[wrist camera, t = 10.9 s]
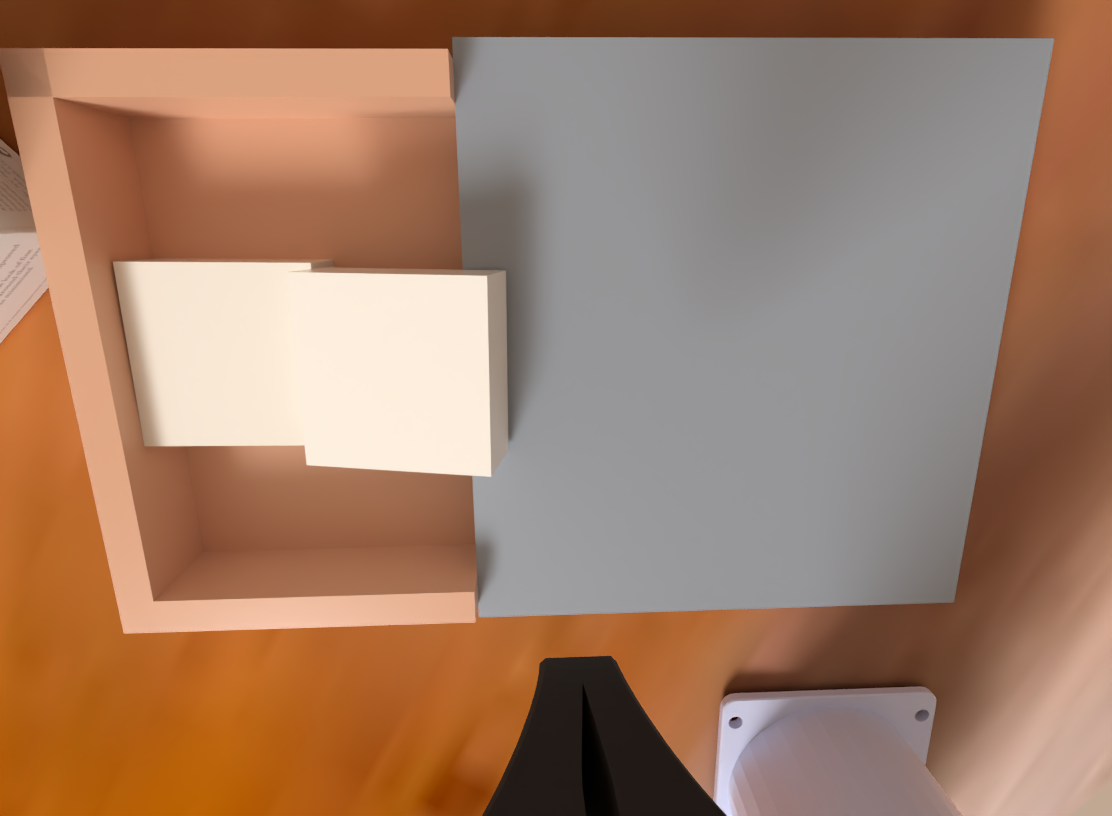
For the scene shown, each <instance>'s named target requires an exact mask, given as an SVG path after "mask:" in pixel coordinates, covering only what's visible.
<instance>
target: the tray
mask: <svg viewBox="0 0 1112 816" xmlns="http://www.w3.org/2000/svg"><path fill="white" fill-rule="evenodd" d="M0 66H1V70H2V75H3V79H4V84H5V89H6V93H7V98H8V102H9V107H10V112H11V116H12V121H13V125H14V130H15V135H16V139H17V144H18V148H19V153H20V158H21V162H22V167H23V172H24V176H25V181H26V185H27V190H28V195H29V199H30V204H31V208H32V213H33V218H34V222H35V227H36V231H37V236H38V241H39V245H40V250H41V254H42V259H43V264H44V268H45V273H46V277H47V282H48V287H49V291H50V296H51V300H52V305H53V310H54V314H55V319H56V323H57V328H58V333H59V337H60V342H61V346H62V351H63V356H64V360H65V365H66V370H67V374H68V379H69V383H70V388H71V393H72V397H73V402H74V406H75V411H76V416H77V420H78V425H79V429H80V434H81V439H82V443H83V448H84V452H85V457H86V462H87V466H88V471H89V475H90V480H91V485H92V489H93V494H94V498H95V503H96V508H97V512H98V517H99V521H100V526H101V531H102V535H103V540H104V544H105V549H106V554H107V558H108V563H109V567H110V572H111V577H112V581H113V586H114V591H115V595H116V600H117V604H118V609H119V614H120V618H121V623H122V627H123V632H124V634H125V633H157V632H188V631H219V630H251V629H282V628H314V627H345V626H376V625H408V624H439V623H471V622H476V616H477V609H478V586H477V565H476V543H475V522H474V500H473V479H472V476H470V475H454V474H439V473H423V472H407V471H391V470H375V469H360V468H344V467H328V466H312V465H306V455H305V445H300V446H144V441H143V435H142V429H141V424H140V418H139V412H138V406H137V400H136V394H135V389H134V383H133V377H132V371H131V365H130V360H129V354H128V348H127V342H126V336H125V330H124V325H123V319H122V313H121V307H120V301H119V295H118V290H117V284H116V278H115V272H114V266H113V261H127V260H140V259H153V258H195V259H333V264H334V267H339V268H395V269H452V270H463V264H462V243H461V221H460V200H459V179H458V157H457V136H456V114H455V93H454V71H453V59H452V57H451V54H450V52H449V50H448V49H274V48H0Z"/></svg>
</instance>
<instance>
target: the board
mask: <svg viewBox="0 0 1112 816" xmlns="http://www.w3.org/2000/svg"><path fill="white" fill-rule="evenodd" d="M1053 43H1054V38H702V37H452V50H453V71H454V93H455V114H456V136H457V157H458V179H459V200H460V221H461V243H462V264H463V270H506V307H507V385H508V452H507V454H506V455H505V457H504V458H503V460H502V461H501V463H500V464H499V466H498V467H497V469H496V470H495V472H494V473H493V475H492V476H491V477H486V476H472V479H473V500H474V522H475V543H476V565H477V586H478V608H479V617H508V616H540V615H572V614H603V613H635V612H667V611H699V610H730V609H762V608H794V607H825V606H857V605H889V604H920V603H952V602H954V599H955V594H956V588H957V582H958V577H959V571H960V566H961V560H962V554H963V549H964V543H965V537H966V532H967V526H968V521H969V515H970V509H971V504H972V498H973V493H974V487H975V481H976V476H977V470H978V464H979V459H980V453H981V448H982V442H983V436H984V431H985V425H986V420H987V414H988V408H989V403H990V397H991V391H992V386H993V380H994V375H995V369H996V363H997V358H998V352H999V347H1000V341H1001V335H1002V330H1003V324H1004V318H1005V313H1006V307H1007V302H1008V296H1009V290H1010V285H1011V279H1012V274H1013V268H1014V262H1015V257H1016V251H1017V245H1018V240H1019V234H1020V229H1021V223H1022V217H1023V212H1024V206H1025V201H1026V195H1027V189H1028V184H1029V178H1030V172H1031V167H1032V161H1033V156H1034V150H1035V144H1036V139H1037V133H1038V128H1039V122H1040V116H1041V111H1042V105H1043V99H1044V94H1045V88H1046V83H1047V77H1048V71H1049V66H1050V60H1051V55H1052V49H1053Z"/></svg>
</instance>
